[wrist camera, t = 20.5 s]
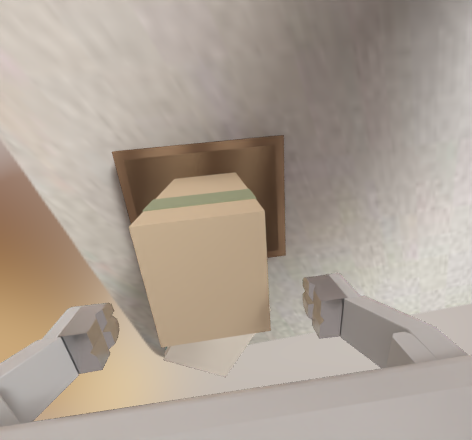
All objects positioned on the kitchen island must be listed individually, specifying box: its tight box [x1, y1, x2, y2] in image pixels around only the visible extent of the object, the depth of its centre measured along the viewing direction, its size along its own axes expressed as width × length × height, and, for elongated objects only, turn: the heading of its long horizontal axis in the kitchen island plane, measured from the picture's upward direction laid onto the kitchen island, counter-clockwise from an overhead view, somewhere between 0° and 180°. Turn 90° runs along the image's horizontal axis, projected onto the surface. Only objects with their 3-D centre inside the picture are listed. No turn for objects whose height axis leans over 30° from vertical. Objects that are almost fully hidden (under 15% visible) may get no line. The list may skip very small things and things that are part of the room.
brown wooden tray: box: [112, 135, 286, 258], centre depth 25 cm, size 16×13×2 cm
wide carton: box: [164, 306, 271, 377], centre depth 28 cm, size 11×8×6 cm
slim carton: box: [129, 172, 271, 348], centre depth 17 cm, size 6×7×13 cm
